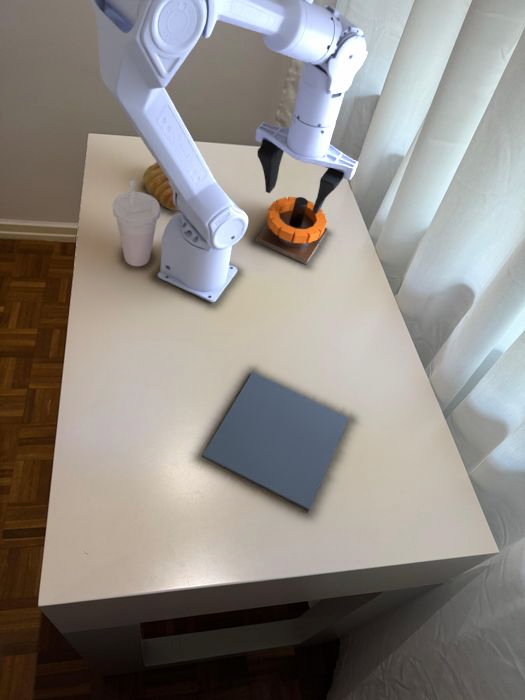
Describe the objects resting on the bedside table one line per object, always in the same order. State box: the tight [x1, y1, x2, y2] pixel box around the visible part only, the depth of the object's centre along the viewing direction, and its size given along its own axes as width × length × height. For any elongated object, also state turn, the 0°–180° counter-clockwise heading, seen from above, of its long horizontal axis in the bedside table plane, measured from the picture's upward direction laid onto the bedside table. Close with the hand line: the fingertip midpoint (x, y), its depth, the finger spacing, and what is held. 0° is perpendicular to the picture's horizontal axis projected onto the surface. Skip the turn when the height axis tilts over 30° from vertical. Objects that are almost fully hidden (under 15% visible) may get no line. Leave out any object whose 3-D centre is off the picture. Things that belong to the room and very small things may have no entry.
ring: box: [266, 196, 327, 243], centre depth 91 cm, size 9×9×2 cm
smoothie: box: [112, 177, 161, 267], centre depth 80 cm, size 6×6×14 cm
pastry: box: [142, 161, 180, 211], centre depth 94 cm, size 9×7×4 cm
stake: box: [255, 196, 328, 265], centre depth 91 cm, size 9×9×8 cm
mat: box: [202, 371, 350, 511], centre depth 71 cm, size 14×14×1 cm
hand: (293, 199), depth 85 cm, fingers open, 7 cm apart
